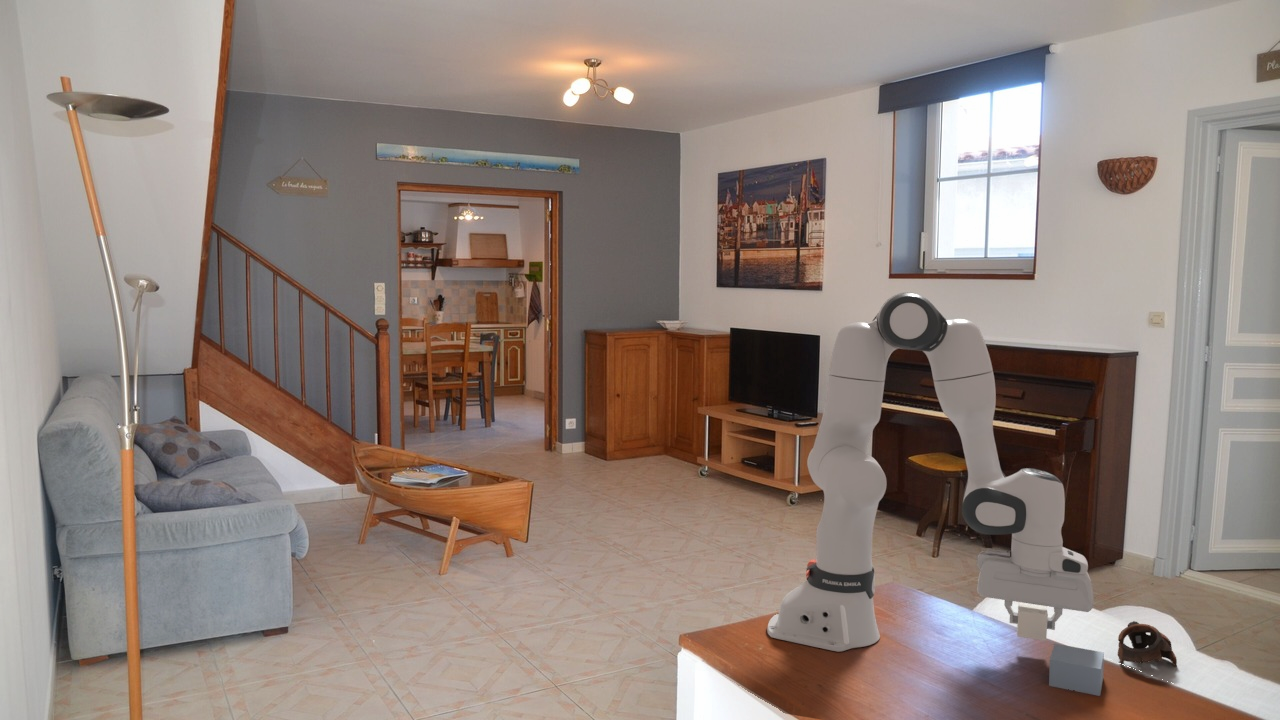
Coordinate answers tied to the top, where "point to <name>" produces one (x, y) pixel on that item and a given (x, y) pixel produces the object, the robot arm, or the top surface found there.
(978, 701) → the top surface
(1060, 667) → the slate block
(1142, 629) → the brown hollow ring shell
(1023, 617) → the cream cube
